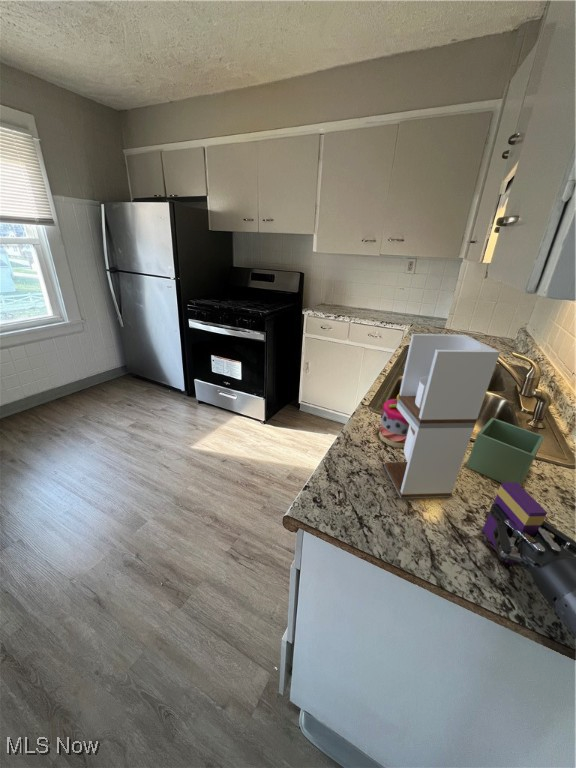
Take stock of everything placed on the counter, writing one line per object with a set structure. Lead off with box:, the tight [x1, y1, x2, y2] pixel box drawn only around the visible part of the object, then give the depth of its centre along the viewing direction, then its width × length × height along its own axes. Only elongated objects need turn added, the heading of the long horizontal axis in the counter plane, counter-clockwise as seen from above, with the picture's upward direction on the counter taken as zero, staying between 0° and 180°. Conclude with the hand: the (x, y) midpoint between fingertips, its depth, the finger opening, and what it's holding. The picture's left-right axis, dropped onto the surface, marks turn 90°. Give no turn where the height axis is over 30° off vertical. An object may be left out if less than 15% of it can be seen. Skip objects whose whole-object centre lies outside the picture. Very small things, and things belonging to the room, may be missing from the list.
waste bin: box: [466, 417, 545, 487], centre depth 77 cm, size 11×11×11 cm
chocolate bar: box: [482, 482, 548, 564], centre depth 57 cm, size 3×7×13 cm, turn 3°
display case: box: [383, 333, 501, 500], centre depth 67 cm, size 11×11×35 cm
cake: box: [378, 393, 410, 449], centre depth 87 cm, size 10×11×15 cm
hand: (501, 506), depth 59 cm, fingers closed on chocolate bar, 3 cm apart
